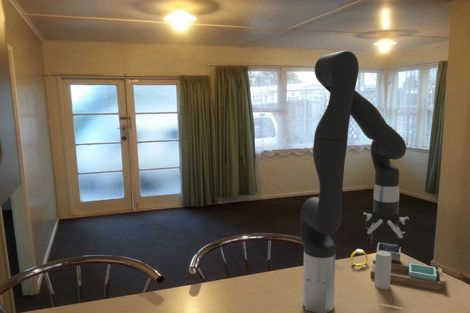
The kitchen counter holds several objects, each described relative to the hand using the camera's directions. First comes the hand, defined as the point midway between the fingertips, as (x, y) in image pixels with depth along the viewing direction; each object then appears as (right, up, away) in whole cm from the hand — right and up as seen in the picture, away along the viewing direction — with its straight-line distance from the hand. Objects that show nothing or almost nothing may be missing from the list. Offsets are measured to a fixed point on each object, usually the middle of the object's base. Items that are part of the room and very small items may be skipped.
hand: (384, 245), depth 115 cm
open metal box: (+9, -12, +19) cm, 24 cm away
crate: (+15, -13, +5) cm, 20 cm away
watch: (-2, -12, +19) cm, 22 cm away
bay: (+10, -13, +7) cm, 18 cm away
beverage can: (0, -15, +2) cm, 15 cm away
